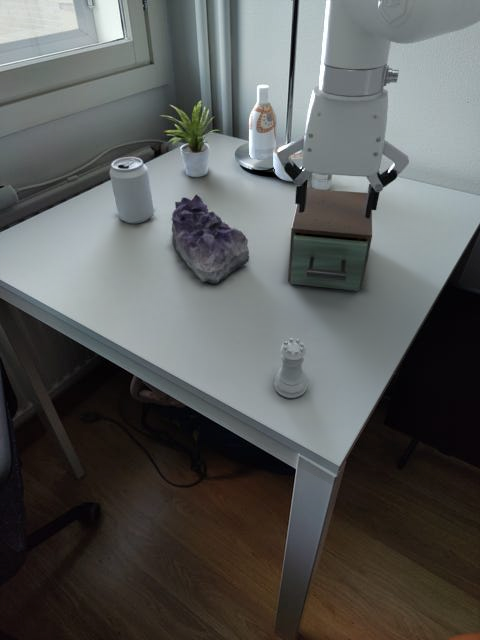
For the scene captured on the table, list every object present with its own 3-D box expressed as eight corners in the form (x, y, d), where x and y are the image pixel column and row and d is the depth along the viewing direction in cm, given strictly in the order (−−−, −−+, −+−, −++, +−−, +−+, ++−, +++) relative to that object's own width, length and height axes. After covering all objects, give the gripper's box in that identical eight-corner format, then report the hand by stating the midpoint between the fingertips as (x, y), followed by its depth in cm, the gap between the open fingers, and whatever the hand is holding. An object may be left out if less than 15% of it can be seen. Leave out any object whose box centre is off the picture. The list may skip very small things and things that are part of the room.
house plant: (174, 158, 122) (166, 92, 111) (226, 159, 121) (223, 92, 110) (162, 181, 111) (152, 111, 101) (218, 183, 110) (215, 111, 99)
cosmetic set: (344, 185, 108) (356, 100, 96) (320, 199, 103) (330, 111, 91) (264, 157, 121) (266, 79, 109) (240, 168, 116) (238, 88, 104)
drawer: (358, 308, 73) (367, 262, 68) (287, 300, 75) (289, 255, 69) (359, 247, 87) (367, 204, 81) (299, 241, 89) (302, 199, 83)
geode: (150, 242, 91) (148, 193, 85) (202, 232, 97) (203, 185, 91) (200, 291, 78) (201, 237, 72) (256, 276, 83) (262, 224, 77)
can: (112, 217, 99) (99, 162, 91) (140, 204, 103) (130, 151, 95) (133, 229, 95) (122, 173, 87) (161, 215, 99) (153, 161, 91)
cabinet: (361, 289, 79) (372, 235, 72) (287, 281, 81) (291, 228, 74) (362, 244, 89) (371, 193, 82) (297, 238, 91) (301, 187, 84)
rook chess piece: (288, 369, 65) (291, 327, 60) (313, 386, 63) (319, 344, 57) (267, 387, 63) (268, 345, 57) (292, 405, 60) (296, 363, 55)
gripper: (425, 73, 56) (395, 203, 68) (283, 69, 59) (278, 194, 70) (431, 91, 51) (398, 229, 62) (274, 85, 53) (270, 218, 65)
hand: (334, 210), depth 66 cm, fingers open, 8 cm apart
